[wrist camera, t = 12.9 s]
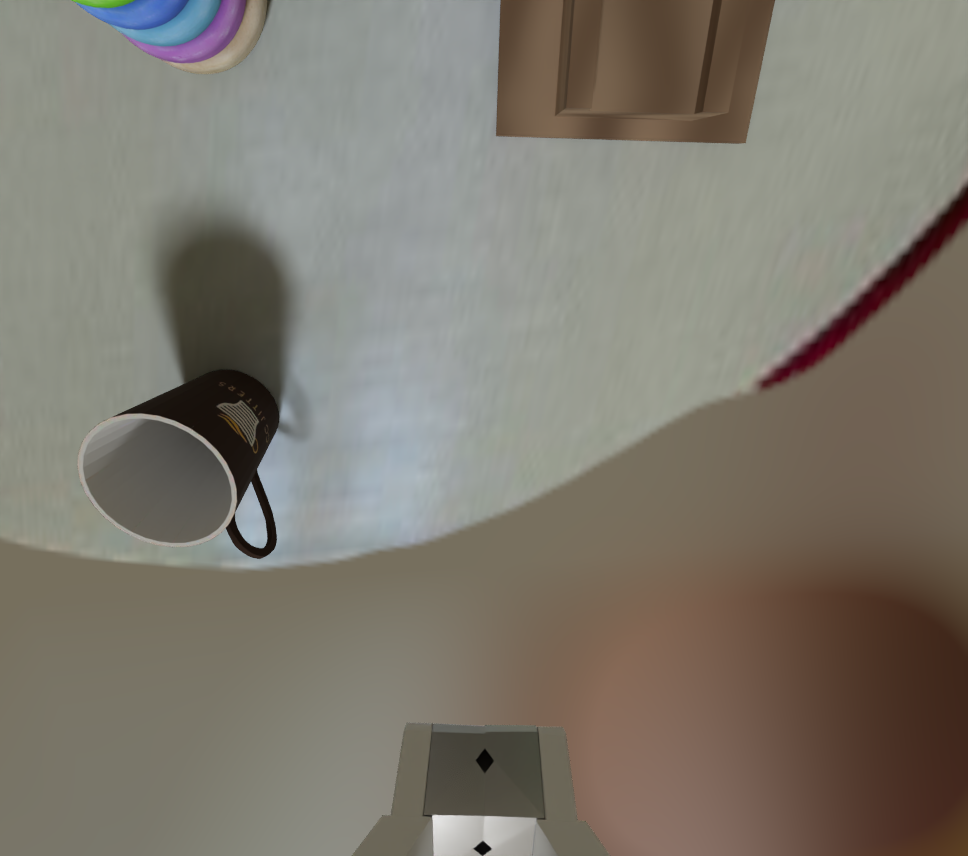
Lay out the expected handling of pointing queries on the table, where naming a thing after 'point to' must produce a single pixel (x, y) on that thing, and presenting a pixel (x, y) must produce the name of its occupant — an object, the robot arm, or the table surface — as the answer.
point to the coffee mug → (183, 462)
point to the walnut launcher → (630, 68)
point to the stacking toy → (187, 29)
